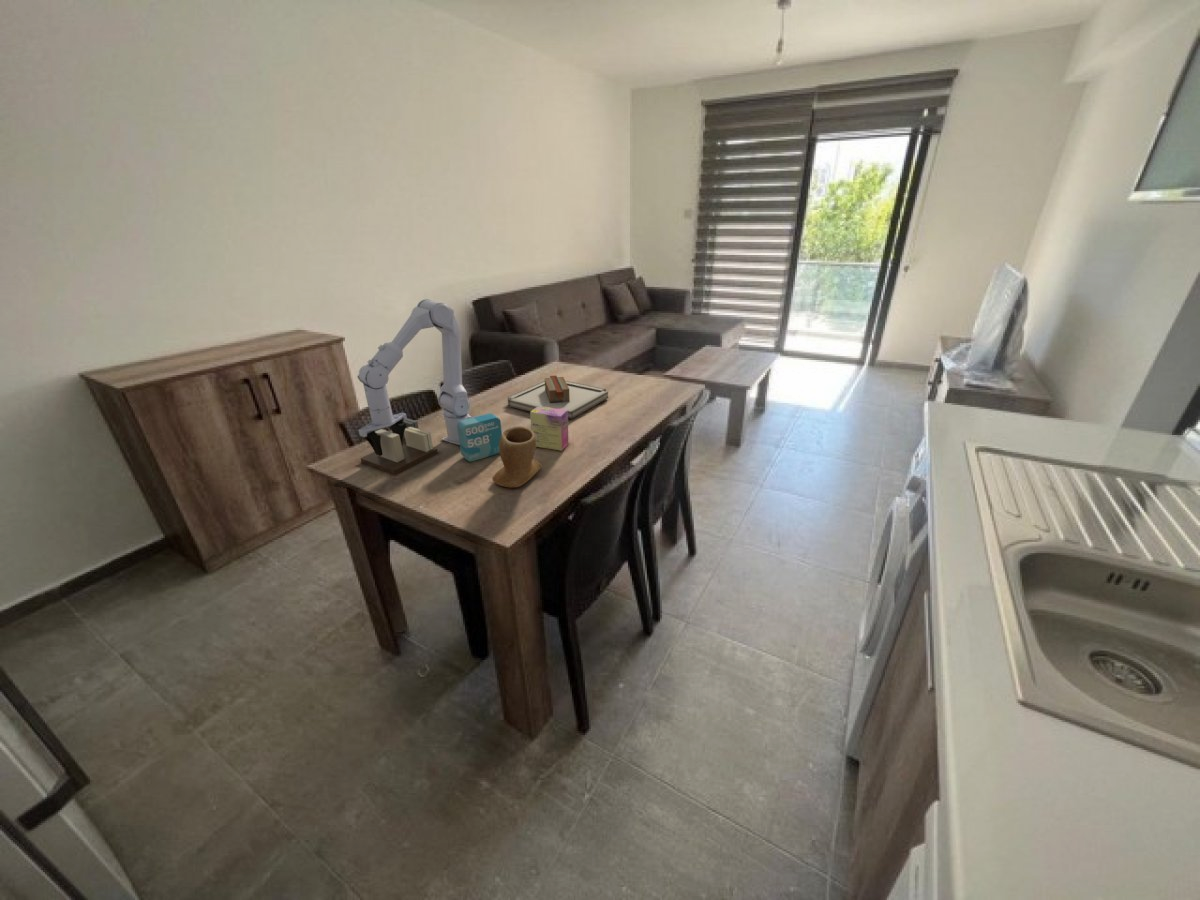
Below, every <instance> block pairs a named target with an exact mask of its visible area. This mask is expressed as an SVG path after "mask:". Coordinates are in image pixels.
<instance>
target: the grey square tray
mask: <svg viewBox="0 0 1200 900" xmlns="http://www.w3.org/2000/svg"><path fill="white" fill-rule="evenodd" d="M607 399H609V392H608V391H607V388H603V387H599V386H598V387H597V386H593V385H588V384H584V383H578V382H574V381H570V380H565V378H564V376H557V375H550V376H549V377H545V378H544V380H543V381H540V382H539V383H536V384H534V385H531V386H530V387H527V388H525V389H522V390H519V391H518V392H515V393H513V394H511V395H508V396H507V404H508V407H510V408H514V409H518V410H520V411H521V410H522V411H526V412H529V413H530V412H531V411H532V410H534V409H535V408H536V407H538V406H540V407H547V408H554V409H562V410H568V419H570V420H572V419H574V418H575V417H578V416H579V415H581V414H583V413H584V412H586V411H588V410H589V409H592V408H593V407H595V406H597V405H598V404H601V403H602V402H603V401H605V400H607Z"/></svg>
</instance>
